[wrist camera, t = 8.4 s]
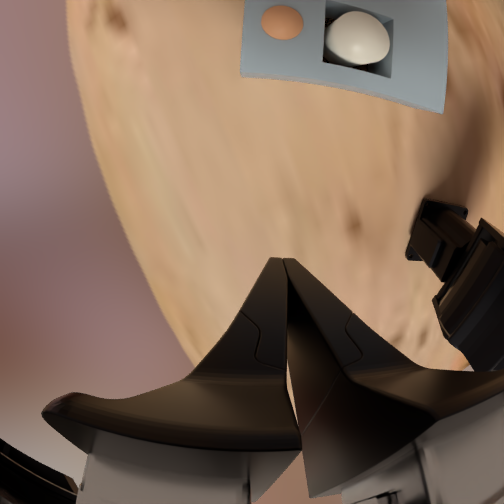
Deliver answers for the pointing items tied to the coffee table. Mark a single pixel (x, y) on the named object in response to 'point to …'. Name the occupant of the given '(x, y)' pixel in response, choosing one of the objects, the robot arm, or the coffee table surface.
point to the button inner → (355, 40)
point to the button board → (371, 83)
